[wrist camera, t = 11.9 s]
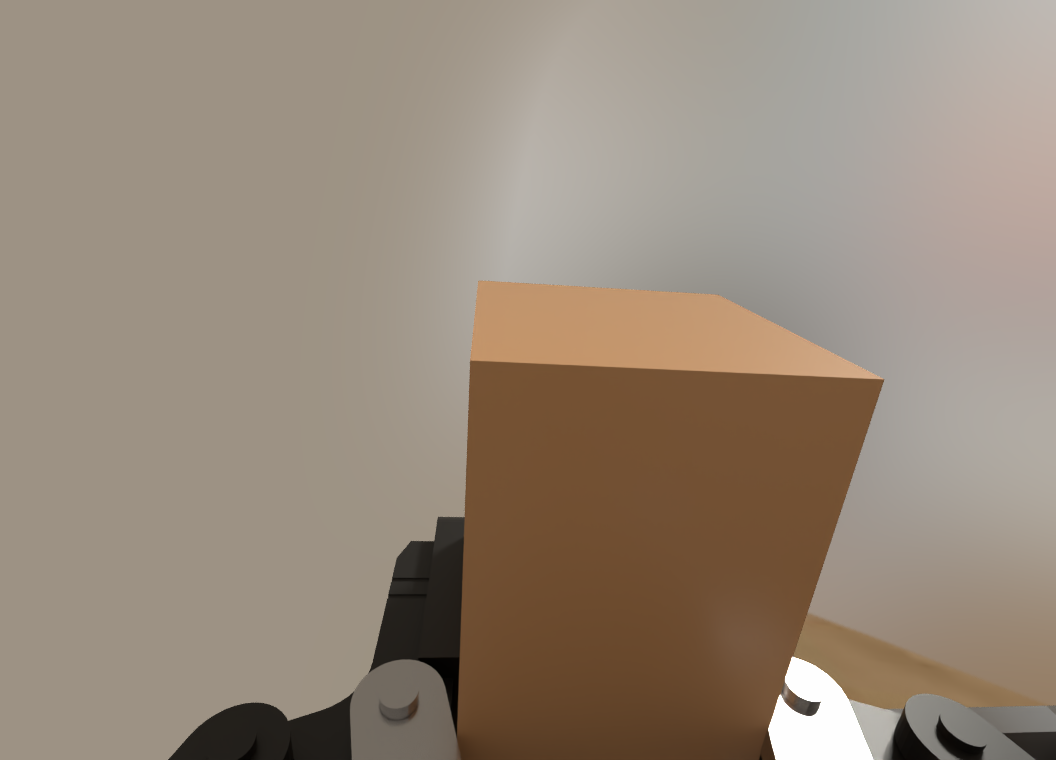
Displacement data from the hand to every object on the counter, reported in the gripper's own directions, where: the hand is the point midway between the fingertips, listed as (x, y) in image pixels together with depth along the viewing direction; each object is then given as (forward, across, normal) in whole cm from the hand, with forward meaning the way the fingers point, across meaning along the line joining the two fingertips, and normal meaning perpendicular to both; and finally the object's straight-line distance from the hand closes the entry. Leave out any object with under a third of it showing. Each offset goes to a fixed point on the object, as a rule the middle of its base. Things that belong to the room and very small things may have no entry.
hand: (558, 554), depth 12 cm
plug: (-3, 0, +9) cm, 9 cm away
